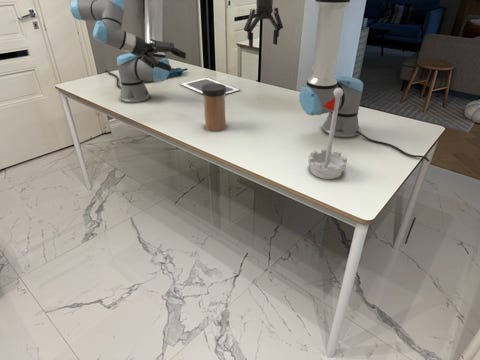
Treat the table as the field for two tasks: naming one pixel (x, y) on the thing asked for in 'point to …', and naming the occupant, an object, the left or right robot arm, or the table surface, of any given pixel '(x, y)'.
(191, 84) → the tablet
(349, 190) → the table surface
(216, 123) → the jar
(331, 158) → the flag stand
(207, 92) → the lid
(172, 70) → the submachine gun
